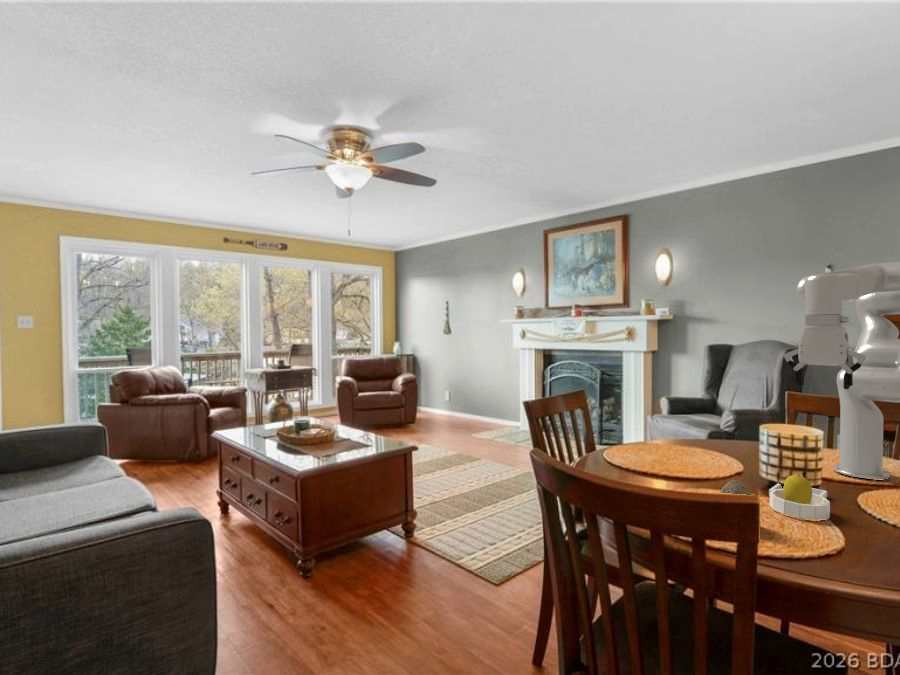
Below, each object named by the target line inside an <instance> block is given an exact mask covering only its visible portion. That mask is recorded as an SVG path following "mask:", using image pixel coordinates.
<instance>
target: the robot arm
mask: <svg viewBox="0 0 900 675" xmlns="http://www.w3.org/2000/svg"><path fill="white" fill-rule="evenodd" d="M796 296H797V297H798V300H800V301H801V302H803V303H804V326H802V327H801V330H800V331H801V332H800V335H799V342H798V343H799V344H798V348H795V349H794V350H791V351H787V352H786V353H783V358H784V359H785V361H786V363H787V365H789V367H790V368H792V369H793V370H794V372H795V376H794V377H795V380H794V381H795V383H797V386H798V387H802V386H804V385H805V371H804V367H806V366H807V365H810V366H811V365H812V366H813V365H815V366H830V367H831V366H834V367H835V366H836V367H838V366H839V367H840V368H841V369H840V370H839V371H838V372H837V375H836V385H837V391H838V392H837V393H838V395H839V396H838V397H839V407H840V408H839V409H840V410H839V411H840V412H839V413H840V418H839V464H835V465H833V466H832V470H833V469H834V470H835V471H837V472H840V473H843V474H846V475H850V476H854V477H860V478H868V479H887V478H891V474H890V473H889V472H887V471H885V470H884V468H883V467H884V466H883V465H884V461H883V459H884V458H883V457H884V456H883V455H884V415H883V413H882V410H880V408H879V406H877V405H876V404H875V402H877V401H879V402H887V403H888V402H889V403H900V338H899V336H900V332H899V329H898V327H897V326H896V325H895V324H894V323H893V322H892V321H890V320H889V319H887V318H886V317H884V316H883V315H900V261H893V262H889V261H888V262H879V263H878V262H877V263H869V264H864V265H861V266H855V267H851V268H844V269H843V268H842V269H839V270H833V271H830V272H823V273H816V274H812V275H806V276H804V277H802V278H801V279H800V280H799V282H798V283H797V285H796ZM853 301H855V309H856V312H857V316H858V320H859V324H860V325H861V332H860V334H859V337H858V340H857V342H856V346H855V347H854V348H855V349H854V350H852V349H850V343H849V342H850V341H849V335H848V330H847V327H846V326H843V324H845V323H849V322H850V317H849V316H844V315H843V313H842V303H847V302H848V303H849V302H853ZM795 355H798V357H797V358H798V363H797V362H796V361H794V359H793V358H792V357H794V356H795ZM850 357H852V362H853V364H852V365H850V364H849V363H850ZM874 401H875V402H874ZM834 470H833V471H834ZM835 471H834V472H835Z"/></svg>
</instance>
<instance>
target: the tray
mask: <svg viewBox="0 0 900 675" xmlns="http://www.w3.org/2000/svg"><path fill="white" fill-rule="evenodd" d="M811 488H812V493H814V494H817V495H819V496H822V497H824V498H826V499H827V498H828V491H827V490H824V489H819V488H814V487H811ZM774 489H783V488H782V486H781V484H779V482H778V483H776V484H775V485H774V486H772V487H771V488H769V489H768V496H769V497H770V492H771V491H772V490H774Z"/></svg>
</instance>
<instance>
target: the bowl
mask: <svg viewBox="0 0 900 675" xmlns="http://www.w3.org/2000/svg"><path fill="white" fill-rule="evenodd" d="M770 506H771V507H772V509H774V510H776V511H778V512H781V513H784V514H787V515H790V516H794V517H798V518H804V519H816V520H817V519H826V521H828V520H829V519H830V516H831V502H830V500H828V499H827V498H824V497H822V496H819V495H817V494H814V493H812V498H811V501H810V502H809V503H808V504H799V503H795V502H791V501H787V499H786V498H785V496H784V493H783V488H782V489H774V490H772V491H771V492H770V496H769V507H770ZM772 509H771V510H772ZM827 519H828V520H827Z"/></svg>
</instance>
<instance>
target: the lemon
mask: <svg viewBox="0 0 900 675" xmlns="http://www.w3.org/2000/svg"><path fill="white" fill-rule="evenodd" d="M783 482H784V486H783V488H782V489H783V493H784V496H785V498H786V499H787V501H791V502H795V503H799V504H808V503H809V502H810V501H811V498H812V488H813V487H812V485H811V483H810V481H809V480H808V479H807V478H806V477H804V476H802V475H800V474H799V473H796V474H792V475H789V476H788V477H786V479H784V481H783Z"/></svg>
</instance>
